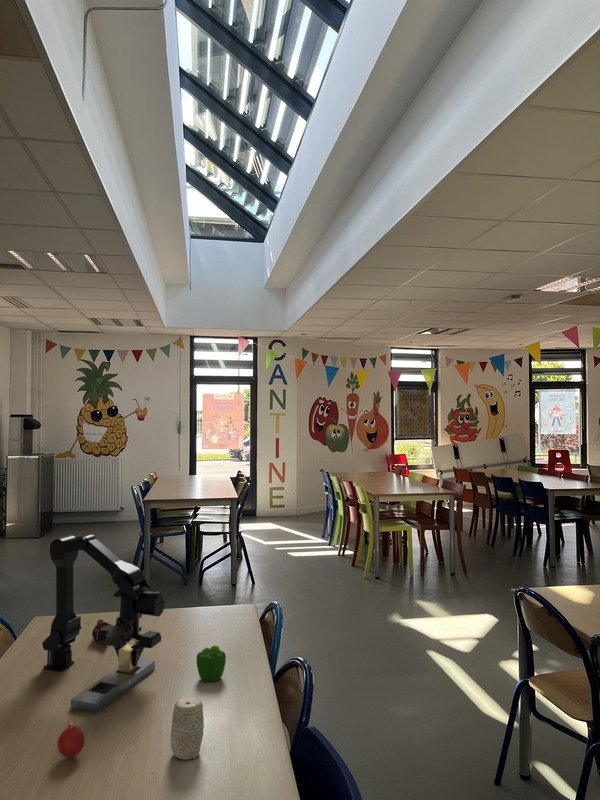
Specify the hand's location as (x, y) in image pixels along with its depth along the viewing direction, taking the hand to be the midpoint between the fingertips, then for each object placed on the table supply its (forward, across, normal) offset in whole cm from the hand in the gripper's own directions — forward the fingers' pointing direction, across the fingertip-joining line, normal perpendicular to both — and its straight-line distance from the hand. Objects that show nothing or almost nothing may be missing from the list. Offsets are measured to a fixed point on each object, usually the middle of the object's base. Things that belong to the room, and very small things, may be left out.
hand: (128, 665), depth 169 cm
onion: (+4, +11, -38) cm, 40 cm away
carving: (+4, +35, -28) cm, 45 cm away
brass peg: (+3, 0, 0) cm, 3 cm away
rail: (+4, 0, -6) cm, 7 cm away
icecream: (+4, -24, +20) cm, 32 cm away
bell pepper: (+4, +23, +8) cm, 25 cm away
